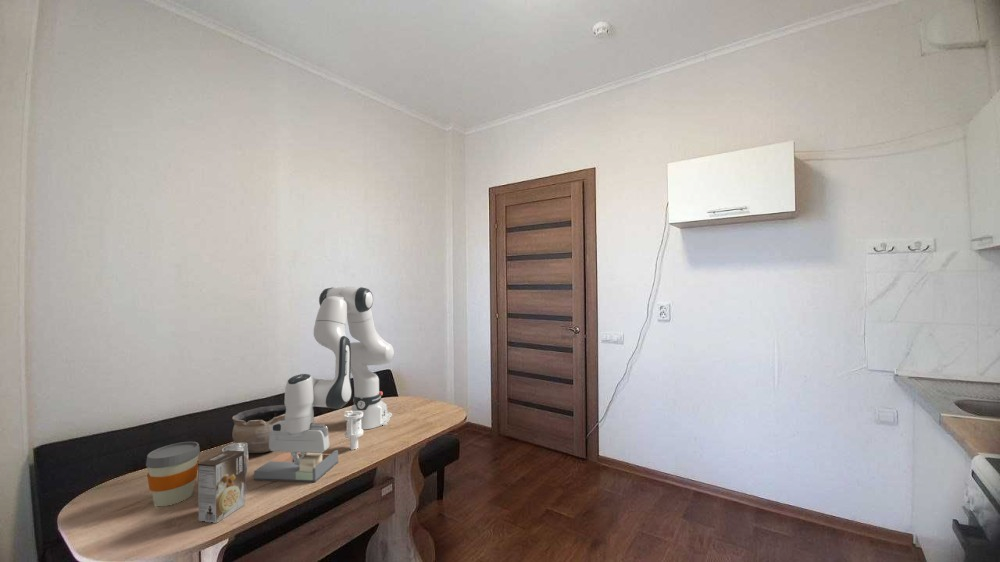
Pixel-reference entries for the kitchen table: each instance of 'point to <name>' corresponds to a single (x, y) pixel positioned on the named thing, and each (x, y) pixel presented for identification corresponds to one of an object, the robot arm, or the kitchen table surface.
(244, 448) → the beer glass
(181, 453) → the reusable coffee cup
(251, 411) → the ceramic bowl
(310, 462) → the birch block
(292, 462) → the board
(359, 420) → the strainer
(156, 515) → the kitchen table surface
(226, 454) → the coffee box
